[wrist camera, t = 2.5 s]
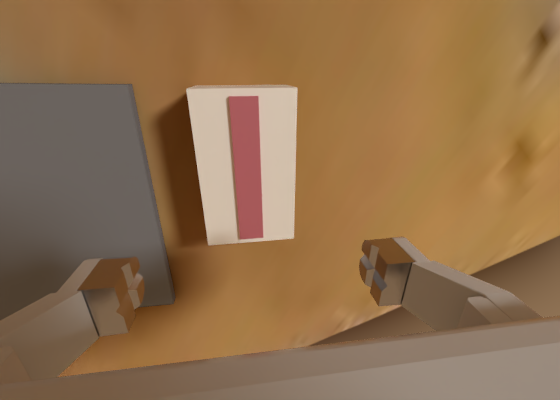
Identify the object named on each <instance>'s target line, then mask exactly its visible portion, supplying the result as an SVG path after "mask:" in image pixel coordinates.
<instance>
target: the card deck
mask: <svg viewBox="0 0 560 400" xmlns="http://www.w3.org/2000/svg"><path fill="white" fill-rule="evenodd" d="M186 91H187V98H188V105H189V112H190V119H191V127H192V134H193V141H194V148H195V155H196V162H197V169H198V176H199V183H200V190H201V197H202V204H203V211H204V218H205V226H206V233H207V240H208V245H220V244H232V243H244V242H256V241H268V240H280V239H292V238H294V209H295V167H296V124H297V87H293V86H289V85H213V86H193V87H190V88H187V89H186Z"/></svg>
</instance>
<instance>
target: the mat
mask: <svg viewBox="0 0 560 400" xmlns="http://www.w3.org/2000/svg"><path fill="white" fill-rule="evenodd" d="M131 256H135V257H137V258H138V261H139V264H140V268H139V270H138V272H137V273H139V274H140V275H141V276H142V277H143V280H144V288H145V290H144V297H143V300H142V303H141V305H140V306H139V307H147V306H158V305H168V304H174V301H175V293H174V288H173V283H172V278H171V273H170V268H169V263H168V259H167V254H166V249H165V244H164V239H163V234H162V229H161V224H160V220H159V215H158V210H157V205H156V200H155V195H154V190H153V185H152V181H151V176H150V171H149V166H148V161H147V156H146V151H145V146H144V141H143V137H142V132H141V127H140V122H139V117H138V112H137V107H136V102H135V98H134V93H133V88H132V84H41V83H0V321H1V320H2V319H4V318H6V317H8V316H10V315H12V314H13V313H15V312H17V311H19V310H21V309H23V308H25V307H26V306H28V305H30V304H32V303H34V302H36V301H37V300H39V299H41V298H43V297H45V296H47V295H48V294H50V293H56V292H57V291H58V290H59V289H60V288H61V287H62V285H63V284H64V283H65V282H66V281H67V280H68V278H69V277H70V276H71V275H72V274H73V273H74V271H75V270H76V269H77V268H78V267H79V266H80V265H81V263H82V262H83V261H84V260H87V259H94V258H111V257H131Z"/></svg>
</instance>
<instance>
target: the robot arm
mask: <svg viewBox="0 0 560 400" xmlns="http://www.w3.org/2000/svg"><path fill="white" fill-rule="evenodd" d="M362 251H363V253H364V256H363V257H362V258H361V259H360V264H359V270H360V275H361V278H362V280H363V282H364V284H366V285H367V286H369V287H371V290H370V293H371V295H372V296H373V298H374V300H375V301H376V303H377V304H378V306H389V305H401V306H402V307H404V308H405V309H407V310H408V311H410V312H411V313H412V314H414V315H415V316H416V317H418V318H419V319H421V320H422V321H423V322H425V323H426V324H428V325H429V326H430V327H432V328H433V329H435V330H436V331H431V332H423V333H416V334H407V335H399V336H391V337H383V338H375V339H366V340H358V341H350V342H341V343H333V344H325V345H316V346H308V347H300V348H292V349H284V350H276V351H268V352H259V353H251V354H243V355H235V356H227V357H219V358H211V359H203V360H195V361H187V362H179V363H170V364H162V365H154V366H146V367H138V368H130V369H122V370H113V371H105V372H97V373H89V374H81V375H73V376H65V377H58V376H59V375H60V374H61V373H62V372H63V371H64V370H65V369H66V368H67V367H68V366H69V365H70V364H72V363H73V362H74V361H75V360H76V359H77V358H78V357H79V356H80V355H81V354H82V353H83V352H85V351H86V350H87V349H88V348H89V347H90V346H91V345H92V344H93V343H94V342H95V341H96V340H97V339H99V337H100V336H108V335H116V334H123V333H128V332H129V330H130V328H131V326H132V323H133V321H134V319H135V317H136V314H135V311H134V310H135V309H136V308H137V307H139V306H140V305H141V303H142V300H143V297H144V290H145V288H144V280H143V277H142V276H141V275H140V274H139V273H137V272H138V270H139V268H140V264H139V261H138V258H137V257H135V256H131V257H111V258H94V259H87V260H84V261H83V262H82V263H81V265H80V266H79V267H78V268H77V269H76V270H75V271H74V273H73V274H72V275H71V276H70V277H69V278H68V280H67V281H66V282H65V283H64V284H63V285H62V287H61V288H60V289H59V290H58V291H57V292H56V293H50V294H48V295H47V296H45V297H43V298H41V299H39V300H37V301H36V302H34V303H32V304H30V305H28V306H26V307H25V308H23V309H21V310H19V311H17V312H15V313H13V314H12V315H10V316H8V317H6V318H4V319H2V320H1V321H0V400H560V316H553V317H545V318H542V317H541V316H540V315H539V314H537V313H536V312H535V311H533V310H532V309H531V308H530V307H528V306H527V305H526V304H525V303H523V302H522V301H521V300H520V299H518V298H517V297H516V296H514V295H513V294H512V293H511V292H508V291H506V290H504V289H501V288H499V287H496V286H494V285H491V284H489V283H487V282H484V281H481V280H479V279H477V278H474V277H472V276H470V275H467V274H465V273H462V272H460V271H457V270H455V269H453V268H450V267H448V266H445V265H443V264H440V263H438V262H436V261H429V260H428V259H427V258H426V257H425V256H424V255H423V254H422V253H421V252H420V251H419V250H418V249H417V248H416V247H415V246H413V245H412V244H411V243H410V242H409V241H408V240H407V239H406V238H404V237H393V238H386V239H374V240H364V242H363V245H362Z"/></svg>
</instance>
